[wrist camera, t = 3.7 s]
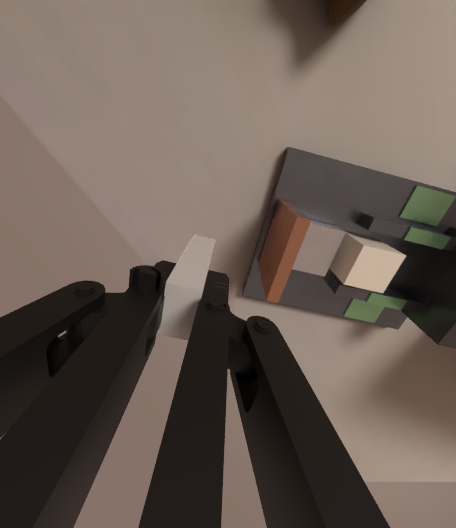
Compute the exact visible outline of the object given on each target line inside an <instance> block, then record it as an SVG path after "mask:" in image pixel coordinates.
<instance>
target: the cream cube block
mask: <svg viewBox="0 0 456 528" xmlns="http://www.w3.org/2000/svg"><path fill="white" fill-rule="evenodd" d="M405 257H406V255H405V254H403V253H401V252H399V251H397V250H396V249H394V248H392V247H390V246H389V245H387V244H385V243H383V242H382V241H380V240H375V239H371V238H367V237H363V236H359V235H355V234H351V233H347V232H346V233H345V235H344V237H343V240H342V242H341V244H340V246H339V248H338V250H337V252H336V254H335V256H334V258H333V261H332V263H331V265H330V267H329V268H330V269H331V270H332V272H333V273H334V274H335V275H336V276H337V277H338V279H339V280H340V281H341V282H342V283H343V284H344V285H349V286H353V287H357V288H362V289H366V290H370V291H375V292H379V293H384V291H385V289H386V288H387V286H388V285H389V283H390V281H391V280H392V278H393V276H394V275H395V273H396V272H397V270H398V268H399V267H400V265H401V264H402V262H403V260H404V259H405Z"/></svg>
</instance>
